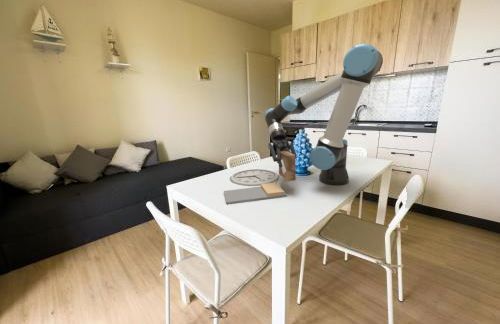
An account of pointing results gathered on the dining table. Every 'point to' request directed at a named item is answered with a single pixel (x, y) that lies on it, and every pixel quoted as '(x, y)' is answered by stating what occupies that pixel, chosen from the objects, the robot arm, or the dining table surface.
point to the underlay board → (254, 193)
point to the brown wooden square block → (288, 166)
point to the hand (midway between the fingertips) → (289, 172)
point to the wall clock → (254, 177)
